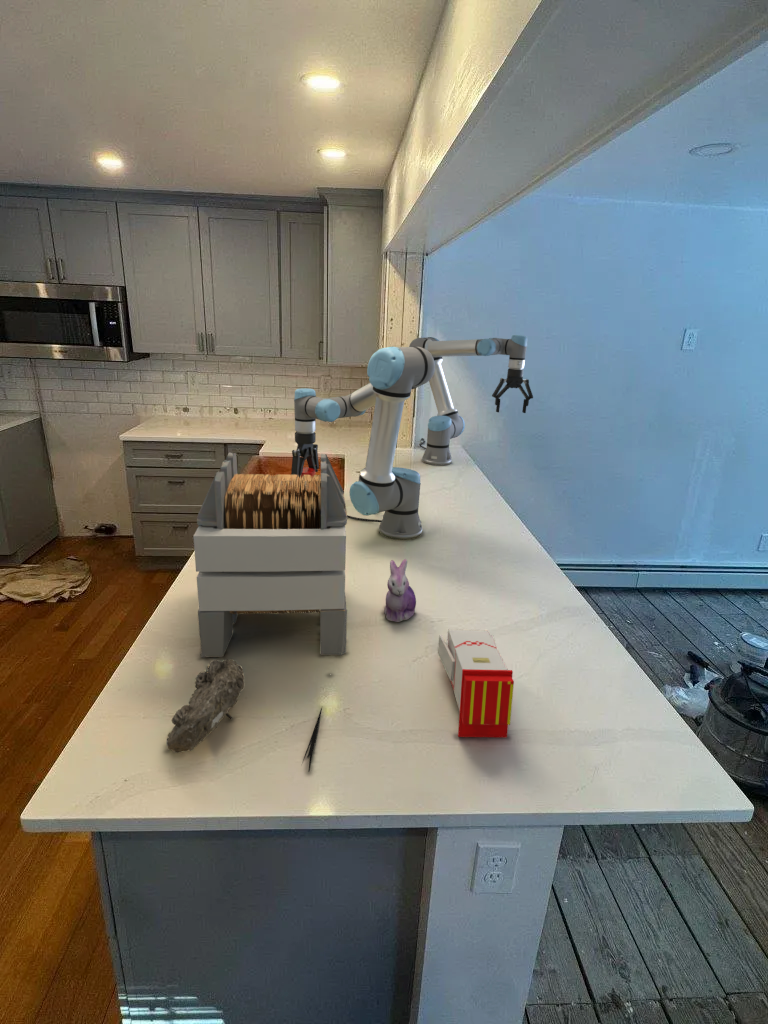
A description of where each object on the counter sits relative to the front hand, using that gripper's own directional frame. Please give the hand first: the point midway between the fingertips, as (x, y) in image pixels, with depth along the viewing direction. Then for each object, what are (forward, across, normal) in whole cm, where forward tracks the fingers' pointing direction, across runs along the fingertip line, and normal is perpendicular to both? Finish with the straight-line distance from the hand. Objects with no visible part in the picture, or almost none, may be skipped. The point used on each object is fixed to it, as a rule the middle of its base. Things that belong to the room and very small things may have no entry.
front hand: (305, 491), depth 215 cm
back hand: (-20, -110, +48) cm, 122 cm away
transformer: (+8, +70, +38) cm, 80 cm away
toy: (+8, +74, +90) cm, 117 cm away
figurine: (+8, +52, +64) cm, 83 cm away
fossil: (+8, +106, +49) cm, 117 cm away
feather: (+8, +96, +67) cm, 118 cm away
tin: (+2, 0, 0) cm, 2 cm away
